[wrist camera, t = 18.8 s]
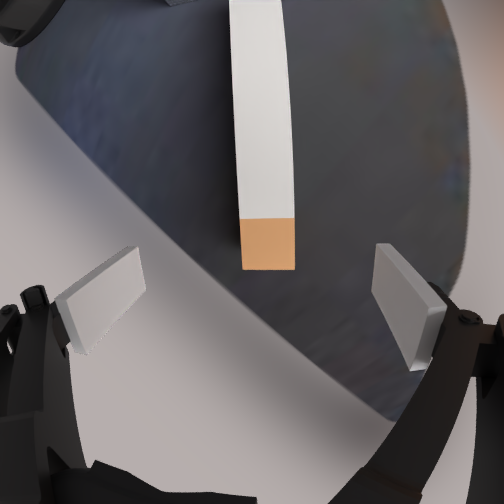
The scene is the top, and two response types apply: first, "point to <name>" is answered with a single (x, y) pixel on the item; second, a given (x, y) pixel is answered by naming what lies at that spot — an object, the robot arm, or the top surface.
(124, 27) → the top surface
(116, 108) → the top surface
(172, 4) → the grey arch-shaped block
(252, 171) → the white and orange bar
